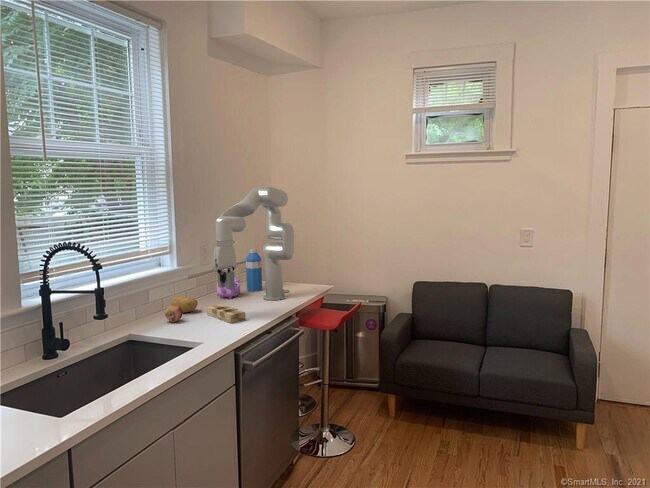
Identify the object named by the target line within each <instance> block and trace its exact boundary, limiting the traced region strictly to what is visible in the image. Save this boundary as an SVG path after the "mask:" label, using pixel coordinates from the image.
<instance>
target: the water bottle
mask: <svg viewBox="0 0 650 488" xmlns="http://www.w3.org/2000/svg"><path fill="white" fill-rule="evenodd" d="M257 251H258V250H257V248H250V249H249V253H248V255H247V256H246V257H245V273H246V274H245V275H246V277H245V278H246V291H248V292H251V293H252V292H260V291H263V277H262V276H263V275H262V273H263V272H262V270H263V269H262V257H261V256H260V255H259V253H258V252H257Z"/></svg>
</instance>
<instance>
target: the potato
mask: <svg viewBox="0 0 650 488" xmlns="http://www.w3.org/2000/svg"><path fill="white" fill-rule="evenodd" d="M171 305H178V306H180V307H181V309H182V314H183V313H191V312H193V311H194V310H195V309H197V307H198V300H196V298H193V297H188V296H180V295H178V296H174V297H172V299H171Z"/></svg>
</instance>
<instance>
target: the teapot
mask: <svg viewBox="0 0 650 488" xmlns="http://www.w3.org/2000/svg"><path fill="white" fill-rule="evenodd" d="M234 282H235V289H231V290H228V289H226V287H223V288H220V287H218V281H217V282H216V293H217V294H216V296H217V297H220V299H224V298H228V299H229V300H232V299H233V297H234V298H237V297H238V295H239V294H241V283H240V282H241V279H238V277H234Z"/></svg>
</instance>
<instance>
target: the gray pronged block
mask: <svg viewBox="0 0 650 488" xmlns="http://www.w3.org/2000/svg"><path fill="white" fill-rule="evenodd" d="M224 275H225V283H221V282H220V274H219V273H218V272H217V282H218V287H220V288H223V287H226V289H228V290H231V289H235V282H234V279H235V272H234V271H233V272H231V271H227V270H226V269H224Z"/></svg>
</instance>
